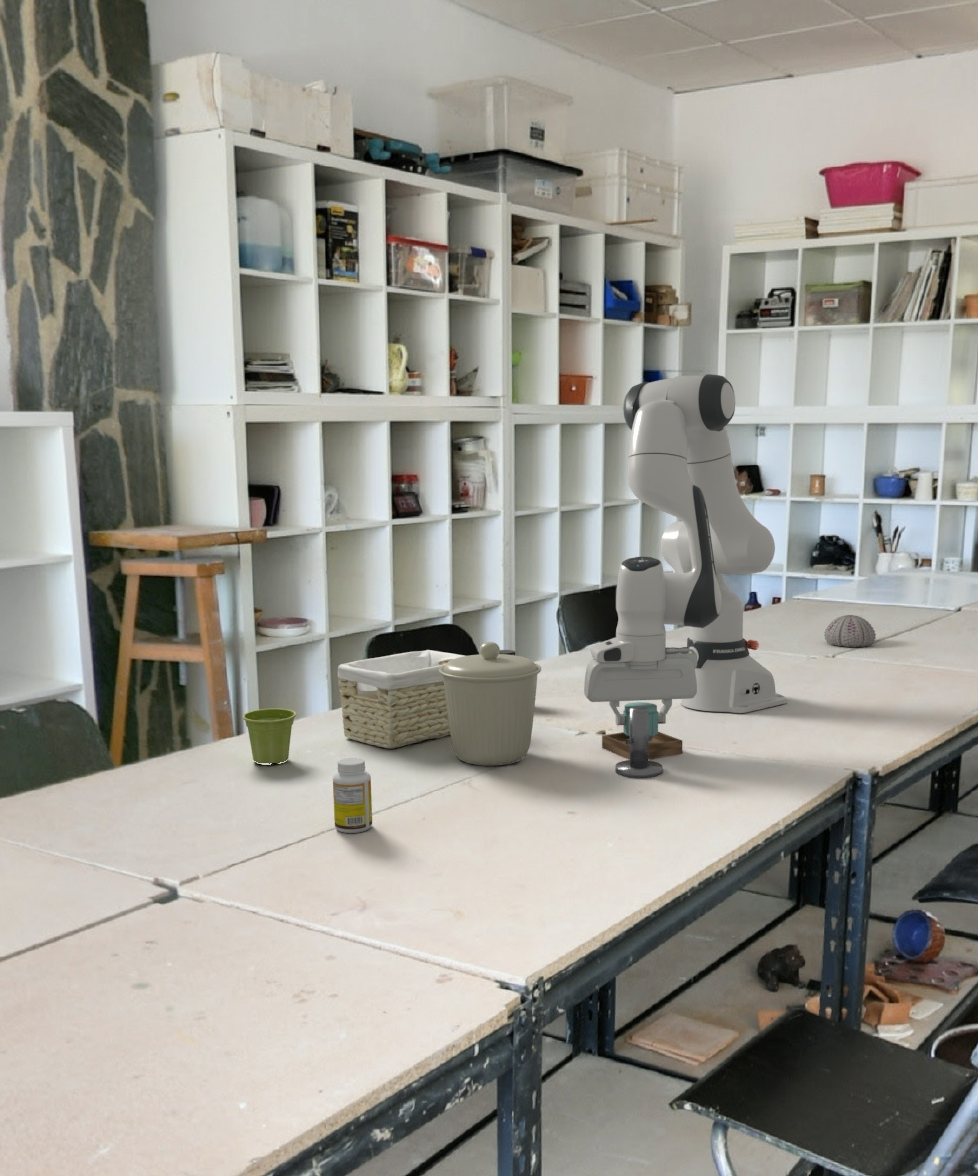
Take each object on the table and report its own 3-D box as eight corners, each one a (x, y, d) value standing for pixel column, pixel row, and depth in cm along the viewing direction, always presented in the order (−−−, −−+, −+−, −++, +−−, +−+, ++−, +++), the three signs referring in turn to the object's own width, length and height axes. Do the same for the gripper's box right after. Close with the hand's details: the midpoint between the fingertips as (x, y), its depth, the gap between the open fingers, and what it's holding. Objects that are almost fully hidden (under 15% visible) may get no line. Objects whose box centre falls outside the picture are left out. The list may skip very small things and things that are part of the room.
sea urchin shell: (867, 650, 312) (868, 620, 311) (816, 646, 320) (817, 616, 319) (881, 643, 324) (882, 613, 322) (831, 639, 331) (832, 610, 330)
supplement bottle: (354, 819, 181) (352, 753, 180) (380, 827, 177) (378, 759, 176) (326, 829, 177) (324, 761, 175) (352, 837, 173) (350, 768, 172)
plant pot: (307, 756, 217) (305, 710, 216) (281, 770, 208) (279, 722, 207) (261, 753, 220) (259, 706, 219) (234, 766, 211) (232, 718, 210)
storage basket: (427, 717, 246) (425, 646, 244) (483, 730, 235) (482, 656, 233) (335, 739, 229) (332, 664, 228) (390, 754, 218) (388, 674, 216)
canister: (474, 778, 201) (472, 655, 199) (422, 755, 217) (419, 640, 214) (562, 761, 211) (561, 643, 208) (506, 740, 226) (504, 630, 223)
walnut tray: (649, 740, 224) (649, 728, 224) (682, 753, 215) (682, 740, 215) (602, 748, 220) (602, 735, 219) (633, 761, 210) (633, 748, 210)
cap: (662, 731, 218) (662, 704, 217) (648, 738, 213) (648, 710, 212) (633, 727, 221) (633, 701, 220) (619, 734, 216) (618, 707, 215)
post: (645, 762, 209) (645, 701, 208) (672, 773, 202) (672, 710, 201) (606, 769, 206) (606, 706, 204) (632, 780, 199) (632, 715, 197)
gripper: (692, 643, 219) (691, 717, 221) (582, 647, 217) (582, 721, 219) (702, 649, 213) (701, 725, 215) (589, 653, 211) (589, 730, 212)
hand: (640, 723), depth 217 cm, fingers closed on cap, 6 cm apart
